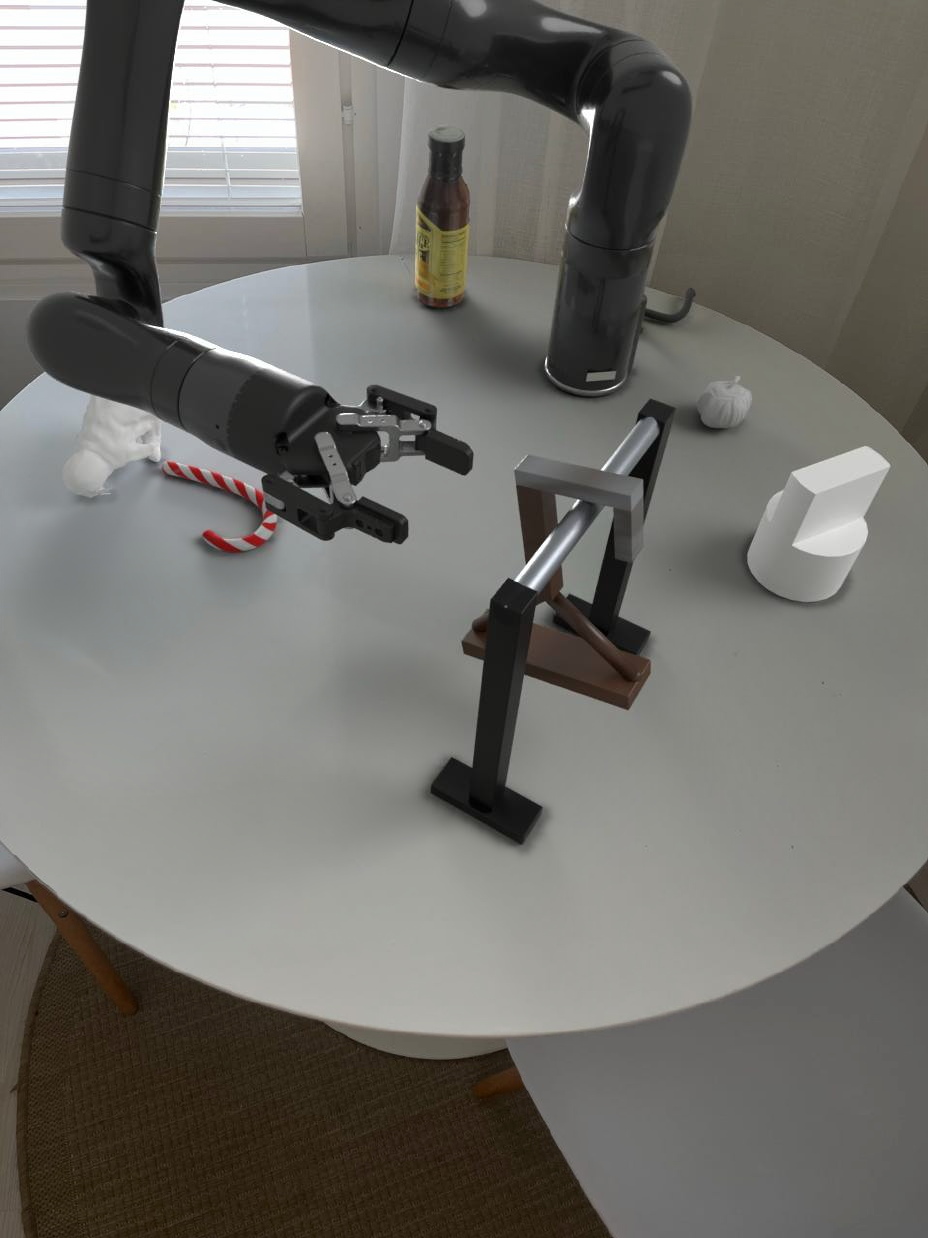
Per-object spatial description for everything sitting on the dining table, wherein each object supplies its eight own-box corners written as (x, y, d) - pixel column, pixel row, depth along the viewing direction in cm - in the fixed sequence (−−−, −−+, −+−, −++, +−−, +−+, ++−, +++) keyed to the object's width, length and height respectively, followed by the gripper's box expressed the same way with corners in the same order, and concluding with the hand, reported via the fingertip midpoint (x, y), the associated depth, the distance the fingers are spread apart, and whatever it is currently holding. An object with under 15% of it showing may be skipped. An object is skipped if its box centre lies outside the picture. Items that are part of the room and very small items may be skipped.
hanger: (462, 653, 71) (422, 459, 59) (488, 621, 74) (454, 427, 61) (629, 711, 65) (624, 506, 52) (652, 673, 67) (652, 469, 55)
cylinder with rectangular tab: (789, 614, 82) (838, 518, 73) (727, 549, 87) (765, 451, 78) (863, 583, 85) (918, 487, 76) (799, 522, 90) (844, 424, 81)
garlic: (726, 400, 102) (739, 361, 98) (755, 429, 99) (770, 389, 95) (682, 413, 100) (693, 373, 96) (710, 442, 97) (723, 402, 93)
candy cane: (187, 443, 91) (296, 510, 86) (190, 453, 92) (297, 520, 87) (125, 483, 87) (235, 556, 81) (128, 493, 88) (237, 566, 82)
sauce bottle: (413, 283, 115) (415, 116, 100) (462, 283, 115) (471, 117, 100) (416, 312, 111) (418, 142, 95) (467, 312, 111) (477, 143, 96)
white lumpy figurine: (159, 374, 86) (80, 457, 79) (181, 440, 93) (110, 522, 86) (103, 356, 87) (22, 437, 81) (129, 422, 94) (56, 501, 88)
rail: (567, 601, 82) (613, 378, 63) (648, 639, 79) (720, 419, 61) (430, 793, 69) (438, 582, 50) (522, 845, 66) (566, 644, 48)
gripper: (182, 422, 61) (381, 516, 57) (310, 326, 69) (494, 400, 65) (201, 504, 67) (383, 595, 62) (318, 406, 75) (486, 480, 70)
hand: (439, 496), depth 63 cm, fingers open, 8 cm apart
